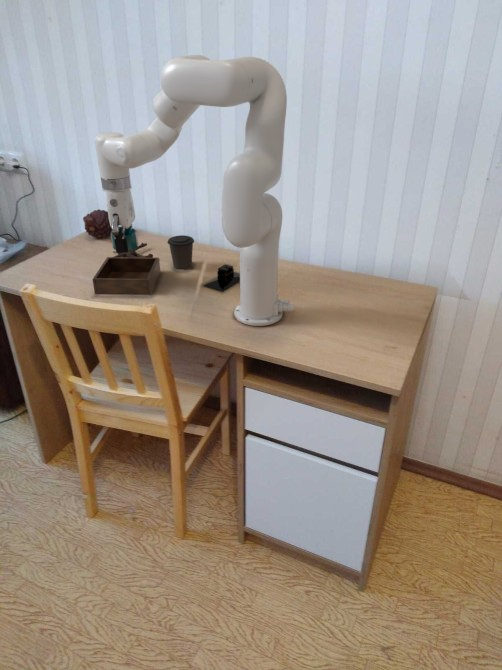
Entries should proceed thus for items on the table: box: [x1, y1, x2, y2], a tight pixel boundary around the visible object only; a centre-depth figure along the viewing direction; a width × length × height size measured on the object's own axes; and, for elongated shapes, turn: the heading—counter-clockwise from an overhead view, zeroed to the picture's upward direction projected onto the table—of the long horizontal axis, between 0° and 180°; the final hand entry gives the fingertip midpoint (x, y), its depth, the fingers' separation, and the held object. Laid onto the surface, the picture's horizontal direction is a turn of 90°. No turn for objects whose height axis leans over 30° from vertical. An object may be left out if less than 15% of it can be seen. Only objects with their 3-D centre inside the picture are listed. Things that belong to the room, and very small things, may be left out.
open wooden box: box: [92, 256, 161, 296], centre depth 154 cm, size 16×16×5 cm
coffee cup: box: [166, 234, 195, 271], centre depth 163 cm, size 8×8×10 cm
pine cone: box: [82, 209, 112, 239], centre depth 188 cm, size 18×10×10 cm
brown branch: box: [112, 242, 154, 258], centre depth 171 cm, size 18×4×14 cm
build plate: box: [203, 263, 240, 293], centre depth 156 cm, size 12×7×5 cm, turn 145°
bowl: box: [109, 227, 139, 252], centre depth 148 cm, size 7×7×5 cm
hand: (125, 246), depth 149 cm, fingers closed on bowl, 7 cm apart
